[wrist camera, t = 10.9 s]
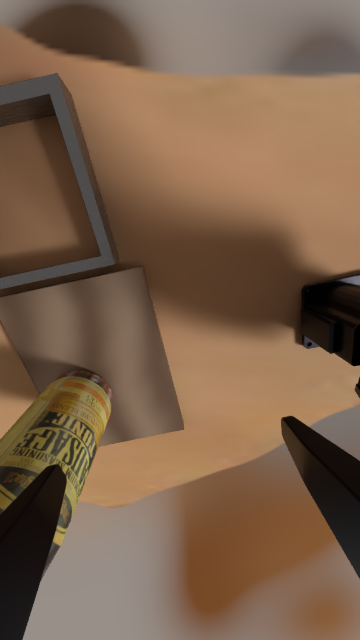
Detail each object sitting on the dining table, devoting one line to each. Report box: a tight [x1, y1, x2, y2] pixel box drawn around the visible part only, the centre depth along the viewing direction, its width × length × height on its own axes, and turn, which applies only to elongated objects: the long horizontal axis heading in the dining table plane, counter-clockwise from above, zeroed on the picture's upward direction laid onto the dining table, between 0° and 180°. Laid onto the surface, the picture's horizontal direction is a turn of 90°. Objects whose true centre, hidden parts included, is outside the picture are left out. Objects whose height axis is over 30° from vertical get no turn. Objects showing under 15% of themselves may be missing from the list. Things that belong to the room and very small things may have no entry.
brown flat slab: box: [0, 266, 184, 447], centre depth 22 cm, size 13×18×1 cm
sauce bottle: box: [0, 370, 113, 579], centre depth 12 cm, size 6×6×20 cm
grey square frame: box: [0, 73, 120, 289], centre depth 16 cm, size 11×11×2 cm
